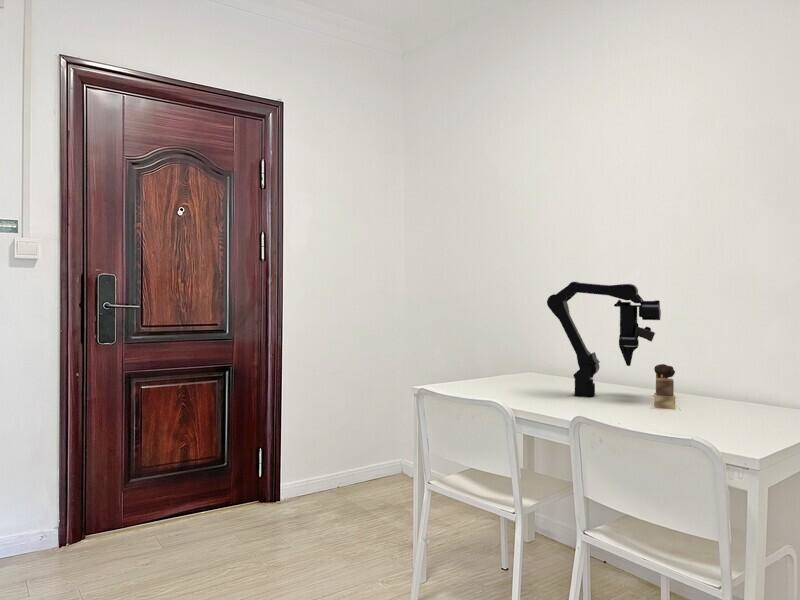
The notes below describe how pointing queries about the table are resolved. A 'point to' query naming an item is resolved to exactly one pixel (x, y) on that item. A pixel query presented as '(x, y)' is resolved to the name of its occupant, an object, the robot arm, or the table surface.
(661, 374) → the figurine
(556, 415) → the table surface
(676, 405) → the mat
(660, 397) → the oak base block
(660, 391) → the walnut cube
